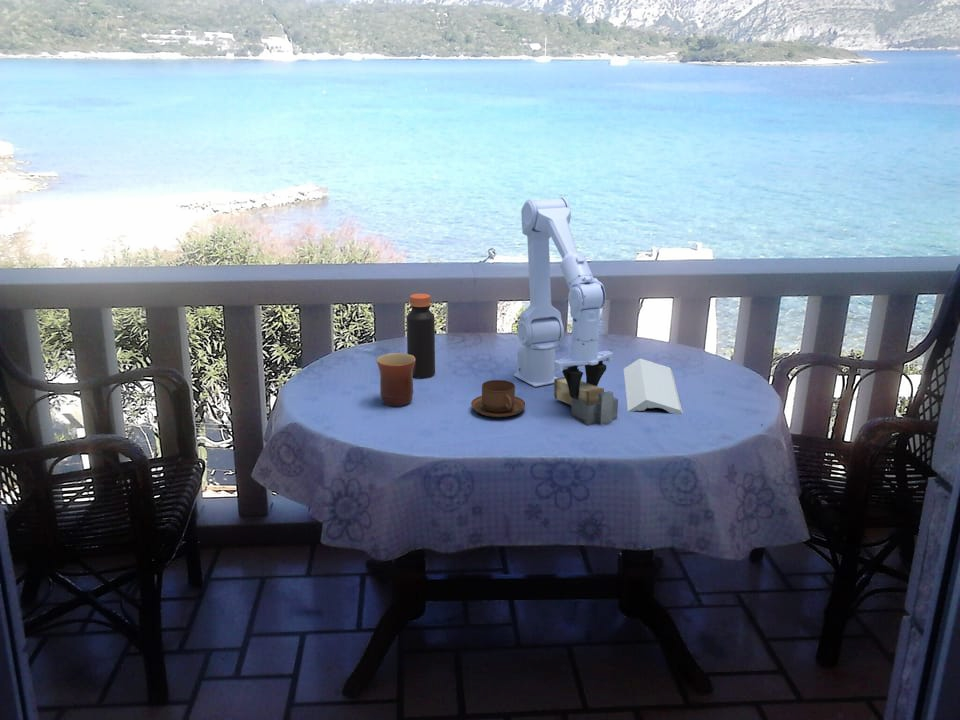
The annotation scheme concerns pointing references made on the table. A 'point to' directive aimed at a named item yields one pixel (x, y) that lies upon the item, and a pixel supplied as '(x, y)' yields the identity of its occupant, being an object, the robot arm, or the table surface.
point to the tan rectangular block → (585, 391)
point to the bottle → (421, 335)
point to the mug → (396, 378)
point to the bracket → (595, 409)
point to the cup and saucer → (498, 399)
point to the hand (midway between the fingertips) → (582, 396)
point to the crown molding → (651, 387)
